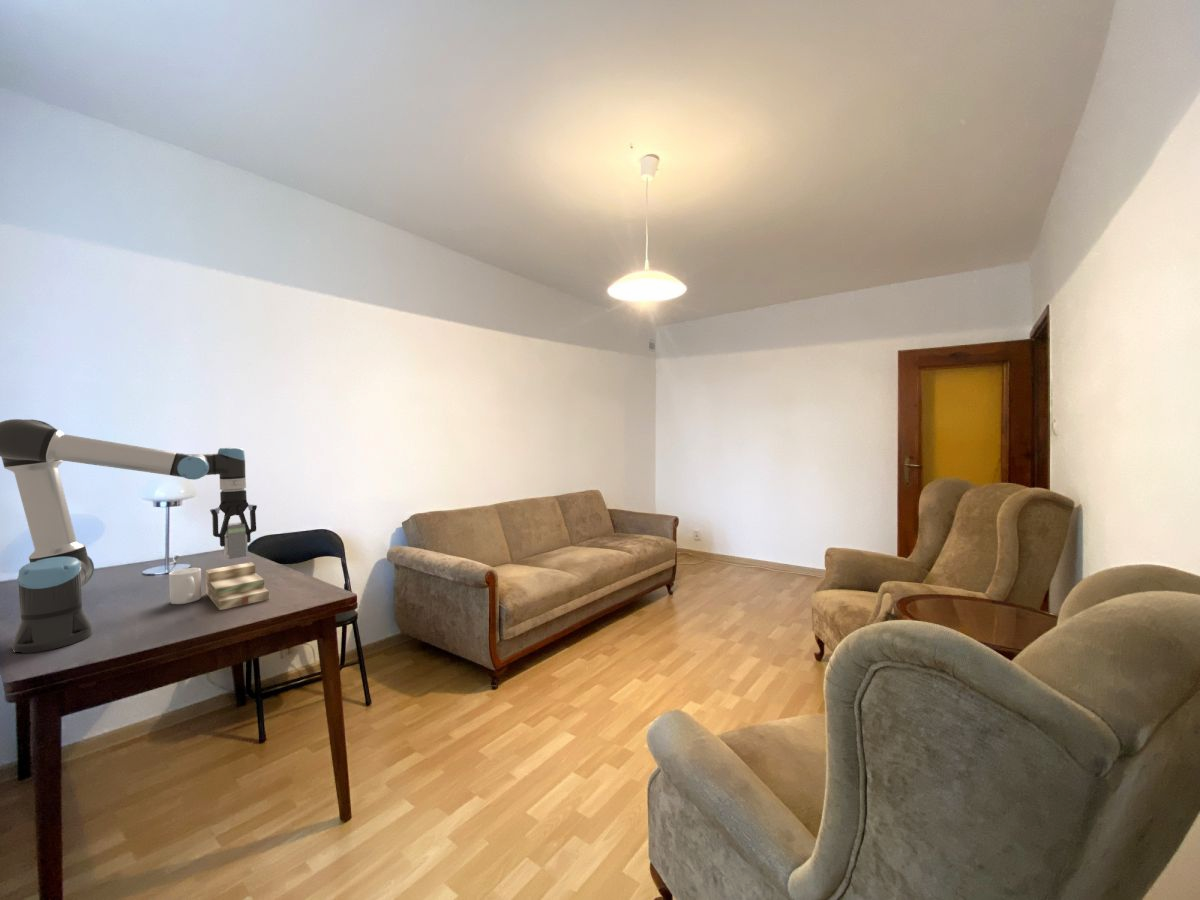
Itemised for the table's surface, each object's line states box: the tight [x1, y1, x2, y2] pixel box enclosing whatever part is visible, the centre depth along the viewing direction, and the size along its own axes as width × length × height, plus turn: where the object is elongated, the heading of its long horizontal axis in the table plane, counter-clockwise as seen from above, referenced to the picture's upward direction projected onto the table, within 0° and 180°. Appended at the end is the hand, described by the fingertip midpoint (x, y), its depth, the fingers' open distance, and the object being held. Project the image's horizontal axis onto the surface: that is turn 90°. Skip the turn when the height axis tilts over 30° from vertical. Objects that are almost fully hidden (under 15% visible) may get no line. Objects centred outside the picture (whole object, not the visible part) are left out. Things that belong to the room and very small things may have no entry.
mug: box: [168, 567, 203, 605], centre depth 169 cm, size 9×12×11 cm
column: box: [225, 521, 247, 560], centre depth 173 cm, size 5×5×12 cm
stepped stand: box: [205, 561, 270, 611], centre depth 173 cm, size 14×24×9 cm, turn 48°
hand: (236, 553), depth 173 cm, fingers closed on column, 5 cm apart
